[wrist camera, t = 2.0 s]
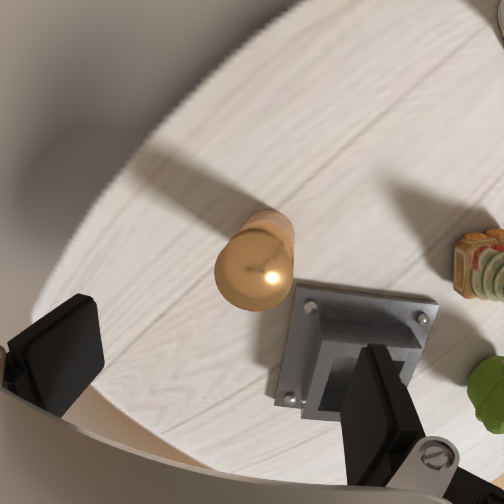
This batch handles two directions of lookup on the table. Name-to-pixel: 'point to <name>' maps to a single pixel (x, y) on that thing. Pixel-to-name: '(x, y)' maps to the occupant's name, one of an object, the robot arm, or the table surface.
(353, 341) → the flange fitting
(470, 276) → the ornament
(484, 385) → the grenade
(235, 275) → the copper cylindrical peg
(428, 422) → the table surface
